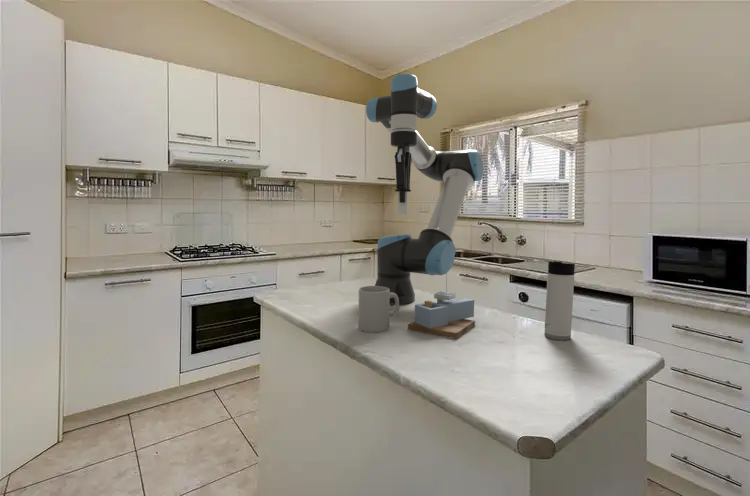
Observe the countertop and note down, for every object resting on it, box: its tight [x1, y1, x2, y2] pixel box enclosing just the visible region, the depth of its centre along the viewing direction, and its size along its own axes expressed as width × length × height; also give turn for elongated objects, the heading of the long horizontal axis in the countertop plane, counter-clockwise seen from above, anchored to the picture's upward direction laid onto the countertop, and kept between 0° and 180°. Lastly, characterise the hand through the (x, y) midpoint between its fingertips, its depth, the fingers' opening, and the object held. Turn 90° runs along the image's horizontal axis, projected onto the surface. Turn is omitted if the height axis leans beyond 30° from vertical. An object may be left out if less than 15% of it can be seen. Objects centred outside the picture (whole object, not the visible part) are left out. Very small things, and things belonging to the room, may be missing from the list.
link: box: [414, 297, 475, 328], centre depth 115 cm, size 18×6×5 cm, turn 124°
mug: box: [357, 285, 400, 334], centre depth 113 cm, size 12×8×11 cm
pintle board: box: [407, 300, 476, 340], centre depth 113 cm, size 14×14×8 cm
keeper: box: [433, 291, 456, 303], centre depth 116 cm, size 5×5×7 cm
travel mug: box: [543, 260, 576, 341], centre depth 105 cm, size 6×7×20 cm
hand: (403, 214), depth 121 cm, fingers closed
